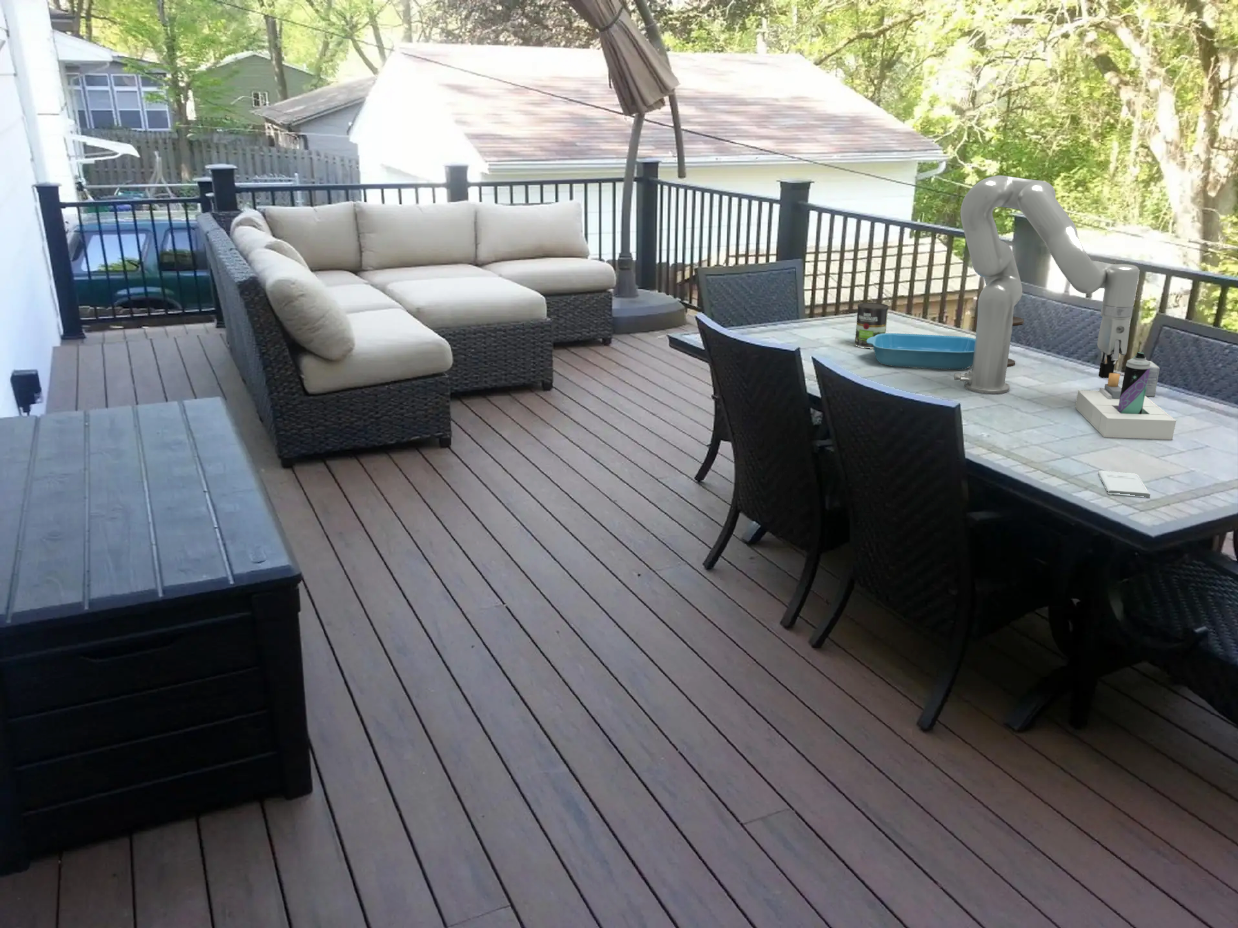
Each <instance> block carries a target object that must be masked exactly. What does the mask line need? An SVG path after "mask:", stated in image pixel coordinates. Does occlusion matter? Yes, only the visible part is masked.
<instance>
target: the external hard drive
mask: <svg viewBox="0 0 1238 928" xmlns="http://www.w3.org/2000/svg"><path fill="white" fill-rule="evenodd" d="M1098 474H1099V476H1100V478H1101V480H1102V482H1103V483H1104V486H1105V487H1106V490H1107V491H1108V493H1120V494H1130V495H1135V496H1144V497H1146V499H1150V498H1151V493H1150V491H1149V490H1148V489H1147V487H1146V485H1145V484H1144V482H1143V480H1142V478H1141V477H1140V476H1139V474H1138V473H1134V472H1122V471H1120V472H1119V471H1110V470H1098V471H1097V475H1098ZM1099 476H1098V477H1099ZM1100 478H1099V479H1100ZM1101 480H1100V481H1101ZM1102 482H1101V483H1102ZM1104 486H1103V487H1104ZM1106 490H1105V491H1106Z"/></svg>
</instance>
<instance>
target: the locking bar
mask: <svg viewBox="0 0 1238 928" xmlns="http://www.w3.org/2000/svg"><path fill="white" fill-rule="evenodd" d="M1120 377H1121V374H1120V373H1118V372H1117V373H1116V372H1113V373H1109V378H1107V379H1108V380H1107V383H1105V384H1104V387H1103V388H1104V389H1105V390H1106V391H1107V392H1108V393H1109V394H1110V395H1112V399H1120V395H1121V389H1122V386H1120V385H1119V383H1120Z"/></svg>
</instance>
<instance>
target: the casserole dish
mask: <svg viewBox="0 0 1238 928" xmlns="http://www.w3.org/2000/svg"><path fill="white" fill-rule="evenodd" d="M975 339H976V338H973V337H969V336H959V335H958V336H957V335H941V334H937V335H936V334H921V333H920V334H919V333H901V332H900V333H898V332H895V333H892V332H888V333H887V332H886V333H883V334H878V335H876V336H874V337H870V338H868V339H867V344H869V345H873V347H874V349H873V350H874V355H875V359H876V361H877V362H878V363H879V362H880V363H879V364H881V363H882V364H881V365H883V364H885V365H884V366H887V365H892V366H891V367H896V366H899V367H898V368H910V367H917V368H916V369H928V370H929V369H932V370H950V371H953V370H954V371H960V370H961V371H962V370H963V371H964V370H967V369H968V368H970V367H972V363H973V355H974V347H975Z"/></svg>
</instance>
